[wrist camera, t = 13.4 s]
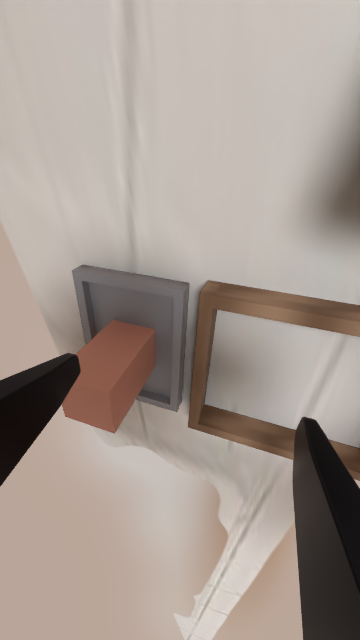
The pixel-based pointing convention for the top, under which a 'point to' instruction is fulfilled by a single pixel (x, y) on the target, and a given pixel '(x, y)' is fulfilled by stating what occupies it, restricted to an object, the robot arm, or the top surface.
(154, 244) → the top surface
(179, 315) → the charcoal tray
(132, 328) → the brick block
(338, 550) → the robot arm
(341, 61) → the top surface
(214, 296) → the frame
